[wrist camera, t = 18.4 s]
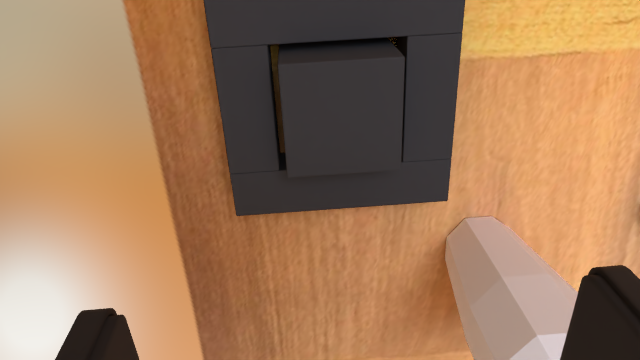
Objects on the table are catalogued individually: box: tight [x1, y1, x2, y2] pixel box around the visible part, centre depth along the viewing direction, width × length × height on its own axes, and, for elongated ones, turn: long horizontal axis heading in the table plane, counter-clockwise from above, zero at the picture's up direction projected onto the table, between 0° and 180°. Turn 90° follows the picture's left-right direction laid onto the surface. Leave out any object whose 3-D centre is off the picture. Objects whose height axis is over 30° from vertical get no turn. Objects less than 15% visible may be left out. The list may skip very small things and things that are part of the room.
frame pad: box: [204, 0, 465, 216], centre depth 27 cm, size 13×13×2 cm
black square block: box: [278, 38, 405, 178], centre depth 26 cm, size 6×6×4 cm
